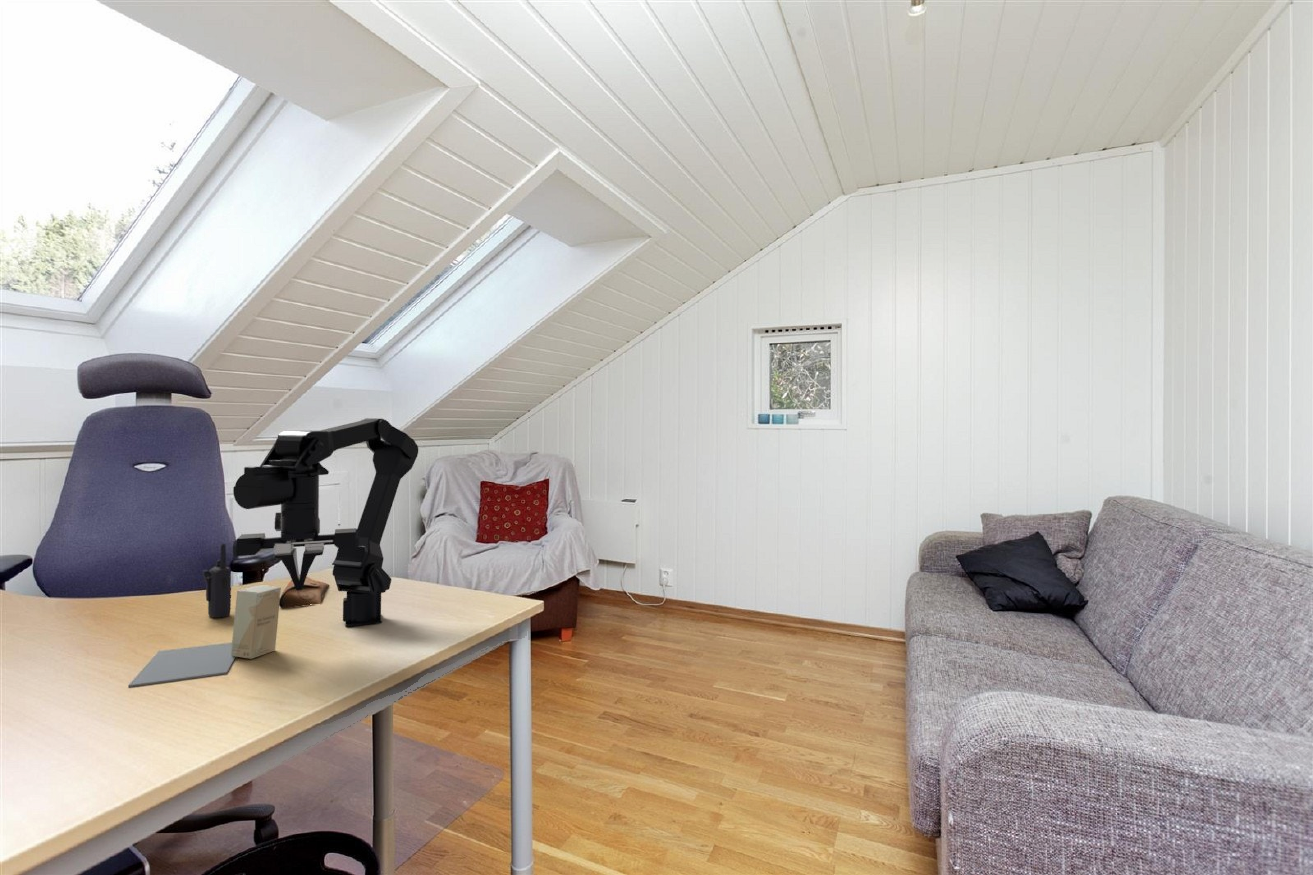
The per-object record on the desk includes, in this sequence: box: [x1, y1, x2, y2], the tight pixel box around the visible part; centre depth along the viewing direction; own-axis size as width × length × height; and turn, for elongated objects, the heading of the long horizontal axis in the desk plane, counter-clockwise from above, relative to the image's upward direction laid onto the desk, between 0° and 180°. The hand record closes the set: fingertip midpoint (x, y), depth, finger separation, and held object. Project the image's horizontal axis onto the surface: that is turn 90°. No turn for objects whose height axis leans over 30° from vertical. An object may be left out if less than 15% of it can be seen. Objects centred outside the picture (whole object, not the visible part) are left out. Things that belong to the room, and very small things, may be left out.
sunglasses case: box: [279, 574, 330, 609], centre depth 136 cm, size 18×7×7 cm, turn 25°
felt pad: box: [127, 641, 237, 688], centre depth 97 cm, size 12×15×1 cm
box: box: [231, 584, 282, 659], centre depth 101 cm, size 5×4×11 cm
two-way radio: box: [202, 543, 232, 619], centre depth 121 cm, size 6×4×15 cm
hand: (299, 590), depth 104 cm, fingers closed
